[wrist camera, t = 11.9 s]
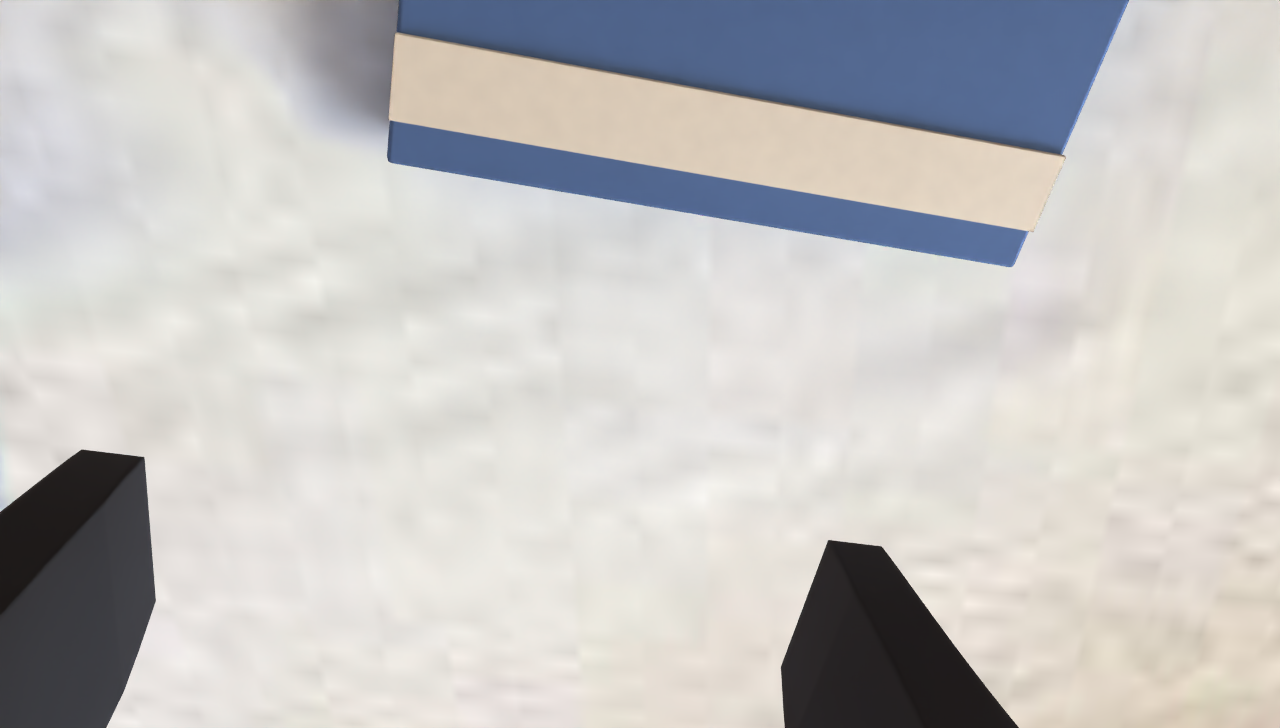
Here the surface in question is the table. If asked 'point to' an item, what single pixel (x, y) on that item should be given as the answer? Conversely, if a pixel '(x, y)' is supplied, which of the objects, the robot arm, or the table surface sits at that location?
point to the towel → (762, 108)
